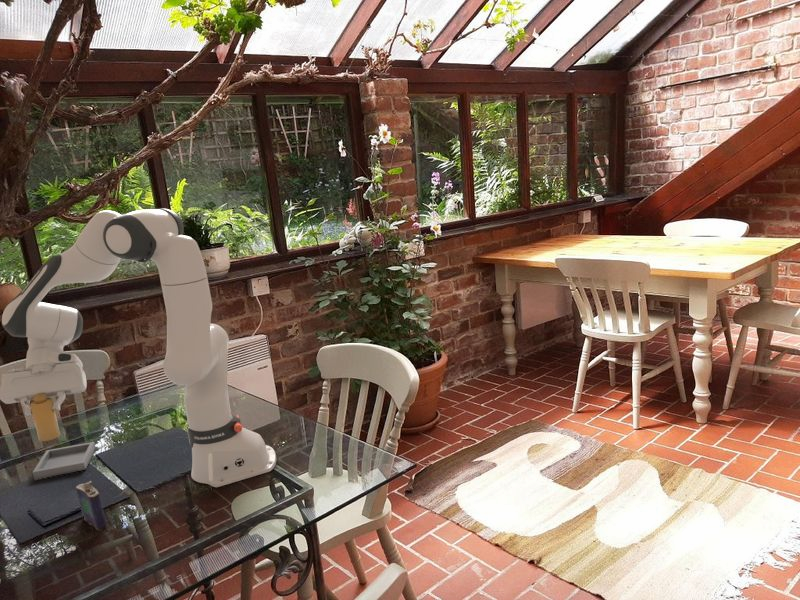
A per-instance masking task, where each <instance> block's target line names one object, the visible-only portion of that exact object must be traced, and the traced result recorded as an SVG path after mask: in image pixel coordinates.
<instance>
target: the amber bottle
mask: <svg viewBox="0 0 800 600" xmlns="http://www.w3.org/2000/svg"><path fill="white" fill-rule="evenodd" d="M33 398H34V400H32V402H31V401H30V403H29V407H31V411H32V415H31V416H32V419H33V423H34V426H35V430H36V433H37V434H36V435H37V438H38V441H39V442H48V441H52V440H55V439H57V438H58V437H60V436H61V431H60V427H59V423H58V418H57V414H56V411H53V410H52V403H54V402H53V397H48V398H46V394H45V393H39V394H36V395H34V396H33Z"/></svg>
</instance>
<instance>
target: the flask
mask: <svg viewBox="0 0 800 600" xmlns="http://www.w3.org/2000/svg"><path fill="white" fill-rule="evenodd" d="M91 483H92V480H89V481H87V482H85V483H81V484H78V485H76V486H75V490H76V494H77V498H78V502H79V506H80V510H81V513H82V516H83V515H84V519H83V520H84V521H85V522H87V523H88V525H90V526H92V528H95V529H96V530H97V531H105V529H107V528H108V522H107V519H106V515H105V512H104V507H103V504H102V499H101V495H100V492H99V490H98V489H97V488H95V487H94V486H93V485H91Z"/></svg>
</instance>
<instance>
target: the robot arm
mask: <svg viewBox="0 0 800 600" xmlns="http://www.w3.org/2000/svg"><path fill="white" fill-rule="evenodd" d="M184 229H185V228H184V223H183V220H182V219H181V218H180V216H179V214H177V213H176V211H175V212H174V211H173V210H172V209H168V208H162V207H155V208H151V209H139V210H134V211H131V212H128V213H124V214H120V213H118V212H116V211H113V210H101V211H99V212H97V213H96V214H94V215H93V216H92V218H90V220H88V222H87V223H86V225H85V226H84V228H83V229H82V230H81V231H80V233H79V235H78V237H77V238H76V241H75V242H74V244H73V245H72V246H70V247H69V248H68V249H66V250H65V251H63V252H61V253H58V254H54V255H51V256H50V257H49V258H48V259H47V260H46V261H45V262H44V263H43V264H42V265H41V267H40V268H39V269H38V270H37V271H36V272H35V274H34V275H33V277H32V278H31V279H30V280H29V281H28V283H26V285H25V286H24V287H23V288H22V289H21V291H20V292H19V293H18V294H17V295H16V296H15V297H14V298H13V299H11V301H9V302H8V304H7V305H6V307H5V308H4V310H3V313H2V317H1V325H2V328H3V329H4V330H5V331H6V332H7V333H8V334H9V335H10V336H12V337H16V338H27V344H28V348H27V349H28V350H27V351H26V361H25V367H19V368H15V369H14V368H12V369H8V370H7V371H6V372H4V373H3V374H2V375H1V379H0V382H1V385H0V400H1V402H3V403H4V404H6V405H9V404H16V403H20V404H21V405H22V406H23V407H24V415H25V416H27V417H28V416H33V415H32V411H31V407H30V406H29V405H30V403H31V401H34V398H33V396H34V395H36V394H39V393H45V394H46V398H53V397H58V398H57V399H56V400H55V402H53V403H52V410H53V411H55V412H58V411H59V412H60V411H61V405H62V403H63V402H64V401H65V400H66V395H73V394H79V393H83V392H85V391H86V389H87V385H88V383H87V377H86V375H87V374H86V372H85V371H84V369H83V367H84V366H83V365H84V364H83V362H82V361H81V359H80V358H79V356H78V355H77V354H74V353H72V352H71V353H69V352H64V347H65V346H68V345H71V343H73V342H74V341H76V340H78V339H79V338H80V337H81V335H82V333H83V327H84V319H83V316H82V314H81V312H80V311H79V310H78V309H77V308H73V307H70V306H66V305H60V304H53V303H48V302H43V301H42V300H43V299H44V298H45V296H46V295H47V294H48V293H49V292H50V290H52V289H53V288H55V287H58V286H61V285H68V284H77V283H79V284H81V283H82V284H84V283H85V284H87V283H88V284H89V283H97V282H100V281H103V280H105V279H107V278H108V277H110V276H111V274H113V273H114V271H115V270H116V268H117V267H118V266H119V263H120V261H121V259H123V260H124V259H125V260H129V261H135V262H139V263H145V264H146V263H147V262H149V261H152V262H153V263H154V264H155V265H156V267H157V270H158V275H159V279H160V286H161V290H162V297H163V300H164V306H165V307H164V308H165V312H166V349H165V350H166V353H165V355H164V356H165V357H164V361H163V365H162V366H163V371H164V374H165V376H166V378H167V379H168V380H169V381H170V382H171V383H172V384H175V385H176V386H180V387H185V391H184V395H183V404H184V408H185V413H186V414H185V415H186V419H187V438H188V442H189V445H190V447H191V456H192V457H191V458H192V461H191V463H192V466H191V473H190V476H191V479H192V480H193V481H195V482H197V483H200V484H206V485H209V486H211V487H214V488H219V487H223V486H225V485H230V484H232V483H236V482H239V481H242V480H243V481H244V480H246V479H250V478H253V477H256V476H259V475H262V474H265V473H270V472H271V471H273V469H274V468H275V466H276V465H277V454H276V451H275V450H274V448H273V447H271V446H270V445H267V444H266V443H265V440H264V439H263V437H262V436H261V434H259V433H257V432H255V431H252V430H249V429H248V428H245V427H243V424H242V422H241V418H240V416H239V414H237V415H236V416H235V415H233V414H232V411H231V405H230V397H229V392H228V390H229V389H228V370H229V368H228V366H229V365H228V362H229V361H228V351H229V342H230V338H229V335H228V332H227V331H226V330H225V329H224V328H223V327H222V326H220V325H218V324H216V323H211V320H212V312H213V301H212V294H211V289H210V285H209V278H208V273H207V268H206V266H205V265H206V264H205V262H204V257H203V255H202V251H201V249H200V247H199V244H198V241H196V240H195V239H194V238H192V237H191V236H188V235H184V231H185V230H184Z"/></svg>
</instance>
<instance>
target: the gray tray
mask: <svg viewBox="0 0 800 600" xmlns="http://www.w3.org/2000/svg"><path fill="white" fill-rule="evenodd" d="M95 443H96V442H95V441H92V442H85V443H79V444H75V445H69V446H64V447H57V448H53V449H47V450H45V452H44V454H43V455H42V457H41V458H40V459H39V461H38V463H37V464H36V466H35V467H34V469H33V471H32V477H33V480H34V481H37V480H38V479H39V480H43V479H42V478H44V479H48V478H47V477H50V476H54V475H59V474H64V473H69V472H74V471H81V470H85V469H86V468H87V469H88V467H87V466H89V465H90V463H91V461H92V458H93V456H94V454H95V453H96V450H97V449H96V444H95ZM88 464H89V465H88ZM87 469H86V470H87ZM81 472H82V471H81ZM50 478H51V477H50ZM39 480H38V481H39Z"/></svg>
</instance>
